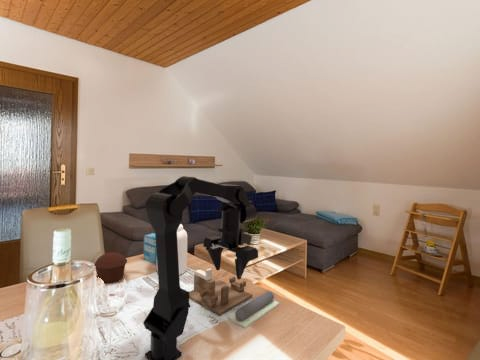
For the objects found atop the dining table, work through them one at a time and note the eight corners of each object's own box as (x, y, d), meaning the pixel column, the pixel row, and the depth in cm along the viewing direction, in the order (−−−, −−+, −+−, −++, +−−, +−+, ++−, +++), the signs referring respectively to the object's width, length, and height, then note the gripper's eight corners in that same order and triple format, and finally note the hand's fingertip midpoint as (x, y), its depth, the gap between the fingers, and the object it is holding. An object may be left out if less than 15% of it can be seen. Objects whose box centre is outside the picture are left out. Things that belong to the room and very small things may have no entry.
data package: (143, 259, 125) (143, 234, 124) (151, 256, 129) (151, 232, 128) (161, 265, 118) (161, 239, 118) (168, 262, 122) (169, 237, 121)
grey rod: (275, 300, 91) (276, 292, 91) (240, 324, 78) (241, 314, 77) (267, 296, 93) (269, 287, 93) (232, 318, 80) (233, 308, 79)
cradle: (252, 297, 94) (252, 279, 94) (219, 316, 82) (219, 296, 81) (218, 281, 105) (219, 265, 105) (184, 296, 93) (185, 278, 92)
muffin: (87, 282, 101) (87, 256, 100) (110, 270, 111) (110, 247, 111) (112, 287, 97) (112, 261, 96) (133, 275, 108) (133, 251, 107)
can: (171, 280, 105) (172, 230, 103) (150, 272, 112) (150, 225, 110) (192, 269, 116) (193, 224, 114) (172, 262, 122) (172, 219, 121)
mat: (279, 304, 90) (279, 302, 90) (245, 328, 76) (245, 326, 76) (262, 296, 95) (262, 295, 95) (227, 318, 81) (227, 316, 81)
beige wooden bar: (212, 278, 93) (212, 269, 92) (207, 280, 91) (207, 270, 91) (199, 272, 97) (199, 263, 97) (194, 274, 95) (194, 265, 95)
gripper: (270, 227, 82) (267, 277, 83) (227, 217, 95) (225, 260, 95) (247, 232, 74) (244, 287, 75) (203, 220, 86) (201, 268, 87)
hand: (228, 274), depth 83 cm, fingers open, 9 cm apart
